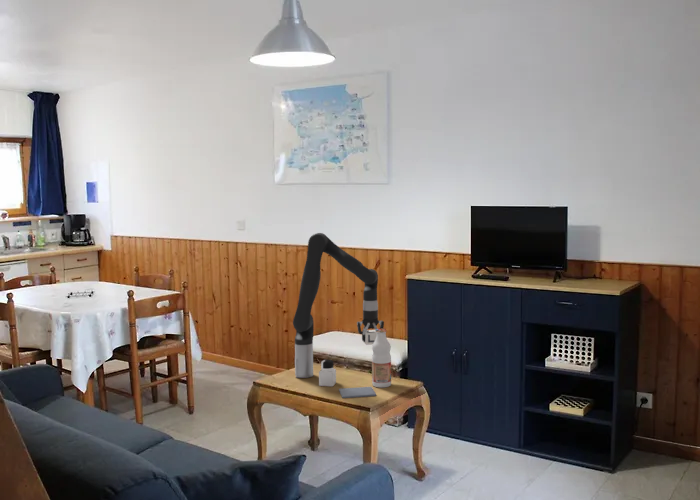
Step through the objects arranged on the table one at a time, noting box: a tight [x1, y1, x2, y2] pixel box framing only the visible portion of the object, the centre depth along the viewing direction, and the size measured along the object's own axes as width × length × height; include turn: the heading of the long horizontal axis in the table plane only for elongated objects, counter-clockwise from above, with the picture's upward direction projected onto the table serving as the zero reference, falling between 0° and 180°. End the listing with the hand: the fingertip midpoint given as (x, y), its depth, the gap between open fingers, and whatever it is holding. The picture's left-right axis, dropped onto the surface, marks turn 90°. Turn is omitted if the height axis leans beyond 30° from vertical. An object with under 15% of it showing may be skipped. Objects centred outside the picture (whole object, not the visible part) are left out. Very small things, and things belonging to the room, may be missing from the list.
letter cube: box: [363, 329, 377, 346], centre depth 329 cm, size 6×6×6 cm
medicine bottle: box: [318, 359, 337, 387], centre depth 322 cm, size 7×7×12 cm
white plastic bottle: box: [371, 327, 392, 389], centre depth 319 cm, size 9×9×28 cm
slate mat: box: [338, 386, 377, 399], centre depth 308 cm, size 16×12×1 cm
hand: (370, 341), depth 330 cm, fingers closed on letter cube, 6 cm apart
